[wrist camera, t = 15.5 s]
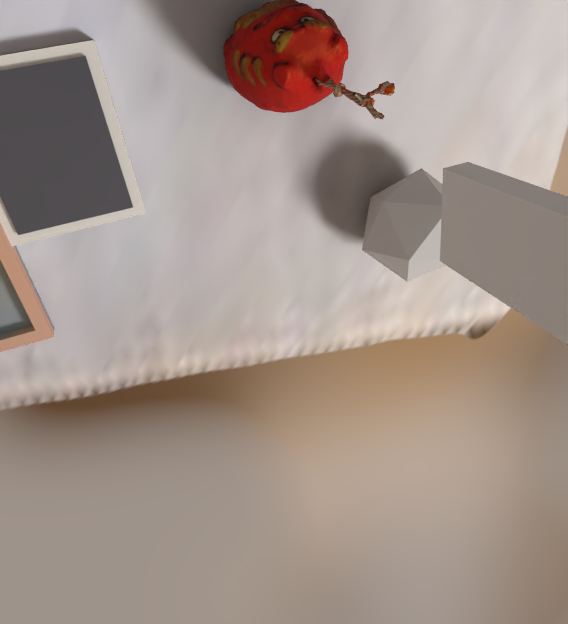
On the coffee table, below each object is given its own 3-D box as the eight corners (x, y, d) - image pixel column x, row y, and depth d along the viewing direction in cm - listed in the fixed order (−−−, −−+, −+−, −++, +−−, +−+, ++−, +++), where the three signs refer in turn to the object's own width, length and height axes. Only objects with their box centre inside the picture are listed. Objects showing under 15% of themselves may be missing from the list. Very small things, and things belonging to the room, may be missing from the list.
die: (335, 252, 48) (418, 315, 45) (346, 187, 40) (448, 258, 37) (389, 204, 51) (471, 260, 48) (409, 135, 43) (509, 196, 40)
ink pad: (-69, 66, 31) (-75, 68, 30) (93, 39, 33) (93, 40, 32) (13, 241, 37) (11, 248, 36) (145, 209, 39) (146, 214, 38)
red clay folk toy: (291, -20, 35) (402, -46, 23) (329, 75, 39) (440, 97, 27) (201, 37, 35) (264, 41, 23) (249, 127, 39) (323, 172, 27)
